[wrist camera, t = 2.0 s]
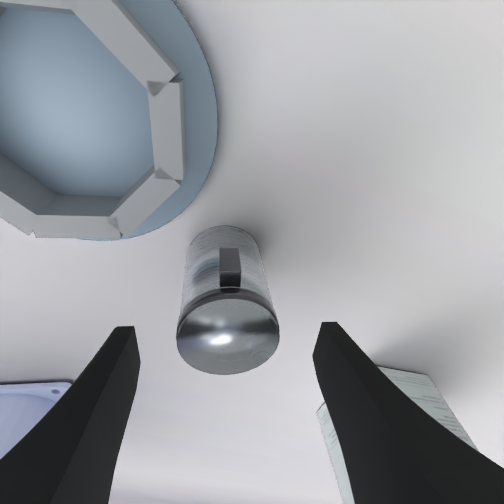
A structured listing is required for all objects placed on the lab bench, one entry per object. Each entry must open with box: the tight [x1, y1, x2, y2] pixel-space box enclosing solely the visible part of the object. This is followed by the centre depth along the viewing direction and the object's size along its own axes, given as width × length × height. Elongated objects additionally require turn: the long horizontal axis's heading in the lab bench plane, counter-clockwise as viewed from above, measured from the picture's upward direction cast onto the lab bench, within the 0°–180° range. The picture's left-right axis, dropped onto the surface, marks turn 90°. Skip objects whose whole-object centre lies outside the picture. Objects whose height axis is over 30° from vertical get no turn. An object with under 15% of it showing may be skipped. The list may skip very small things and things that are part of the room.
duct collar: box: [0, 0, 218, 241], centre depth 11 cm, size 11×11×3 cm
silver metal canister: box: [176, 226, 280, 375], centre depth 14 cm, size 4×5×6 cm
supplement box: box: [317, 366, 479, 504], centre depth 21 cm, size 7×7×13 cm
